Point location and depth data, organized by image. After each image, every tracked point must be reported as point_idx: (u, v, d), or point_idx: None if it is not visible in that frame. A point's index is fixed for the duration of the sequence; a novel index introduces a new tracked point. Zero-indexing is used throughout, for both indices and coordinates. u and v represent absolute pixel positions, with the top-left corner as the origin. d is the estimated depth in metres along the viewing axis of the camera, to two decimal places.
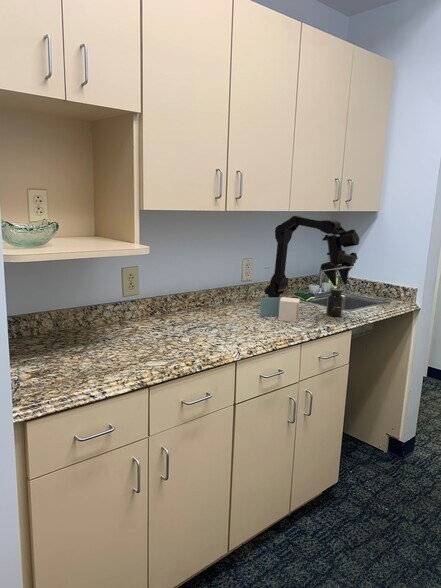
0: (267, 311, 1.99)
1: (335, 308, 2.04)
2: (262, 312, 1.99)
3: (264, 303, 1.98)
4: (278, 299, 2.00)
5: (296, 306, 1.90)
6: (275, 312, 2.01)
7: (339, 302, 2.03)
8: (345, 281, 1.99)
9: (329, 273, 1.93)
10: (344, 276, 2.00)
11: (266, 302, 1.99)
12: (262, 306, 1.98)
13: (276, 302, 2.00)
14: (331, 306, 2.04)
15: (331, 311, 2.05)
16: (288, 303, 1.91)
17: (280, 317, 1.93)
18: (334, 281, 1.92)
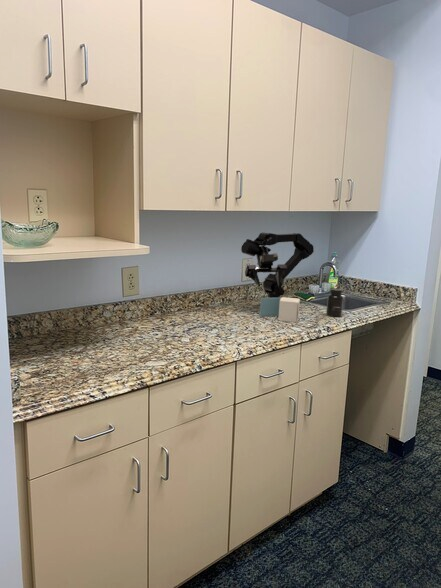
0: (267, 311, 1.99)
1: (335, 308, 2.04)
2: (262, 312, 1.99)
3: (264, 303, 1.98)
4: (278, 299, 2.00)
5: (296, 306, 1.90)
6: (275, 312, 2.01)
7: (339, 302, 2.03)
8: (278, 283, 2.04)
9: (253, 277, 2.06)
10: (277, 278, 2.06)
11: (266, 302, 1.99)
12: (262, 306, 1.98)
13: (276, 302, 2.00)
14: (331, 306, 2.04)
15: (331, 311, 2.05)
16: (288, 303, 1.91)
17: (280, 317, 1.93)
18: (257, 281, 2.03)
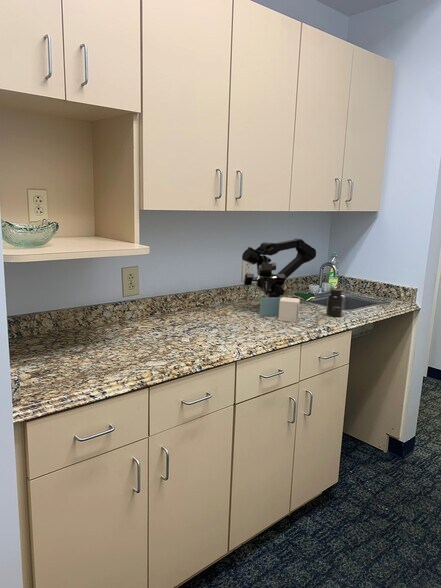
0: (267, 311, 1.99)
1: (335, 308, 2.04)
2: (262, 312, 1.99)
3: (264, 303, 1.98)
4: (278, 299, 2.00)
5: (296, 306, 1.90)
6: (275, 312, 2.01)
7: (339, 302, 2.03)
8: None
9: (261, 285, 2.08)
10: (266, 288, 2.06)
11: (266, 302, 1.99)
12: (262, 306, 1.98)
13: (276, 302, 2.00)
14: (331, 306, 2.04)
15: (331, 311, 2.05)
16: (288, 303, 1.91)
17: (280, 317, 1.93)
18: (264, 290, 2.04)
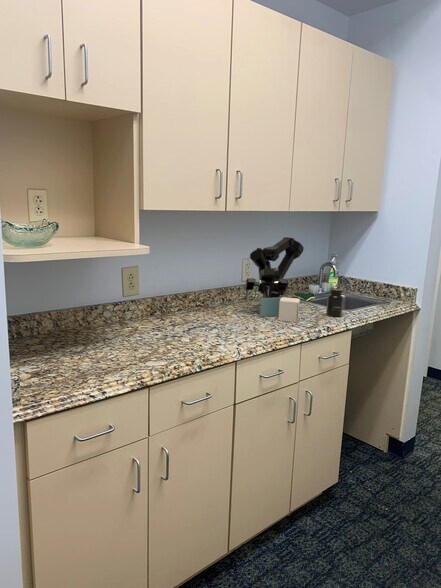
0: (267, 311, 1.99)
1: (335, 308, 2.04)
2: (262, 313, 1.98)
3: (265, 303, 1.98)
4: (278, 299, 2.00)
5: (296, 306, 1.90)
6: (275, 312, 2.01)
7: (339, 302, 2.03)
8: (268, 297, 2.00)
9: (263, 290, 2.03)
10: (268, 293, 2.01)
11: (266, 302, 1.98)
12: (262, 306, 1.98)
13: (276, 302, 2.00)
14: (331, 306, 2.04)
15: (331, 311, 2.05)
16: (288, 303, 1.91)
17: (280, 317, 1.93)
18: (266, 295, 2.00)
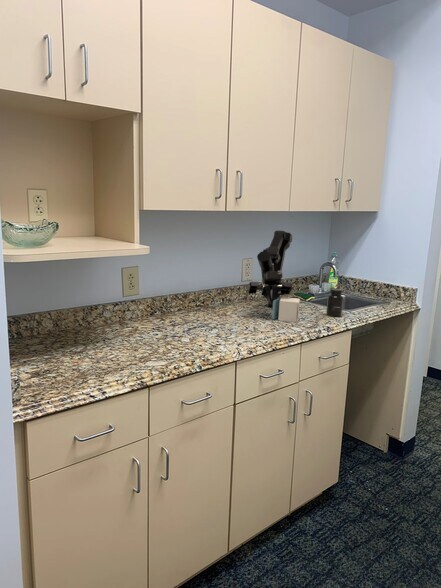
0: (276, 313, 1.96)
1: (335, 308, 2.04)
2: (274, 315, 1.94)
3: (275, 305, 1.94)
4: None
5: (296, 306, 1.90)
6: (278, 313, 2.00)
7: (339, 302, 2.03)
8: None
9: (266, 294, 1.97)
10: (271, 297, 1.95)
11: (276, 304, 1.95)
12: (274, 309, 1.93)
13: (279, 302, 1.99)
14: (331, 306, 2.04)
15: (331, 311, 2.05)
16: (288, 303, 1.91)
17: (280, 317, 1.93)
18: (270, 299, 1.94)
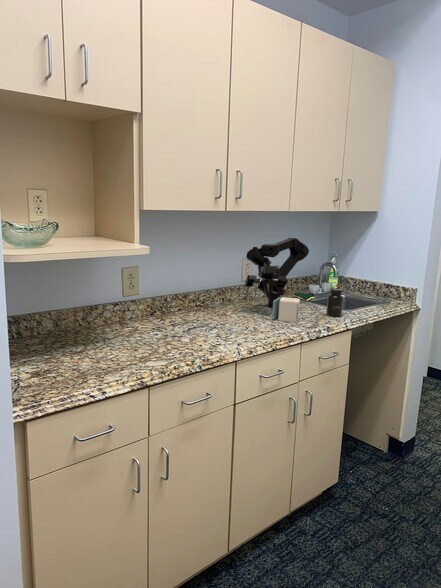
0: (276, 313, 1.96)
1: (335, 308, 2.04)
2: (274, 315, 1.94)
3: (275, 305, 1.94)
4: None
5: (296, 306, 1.90)
6: (278, 313, 2.00)
7: (339, 302, 2.03)
8: None
9: (263, 287, 2.05)
10: (268, 290, 2.04)
11: (276, 304, 1.95)
12: (274, 309, 1.93)
13: (279, 302, 1.99)
14: (331, 306, 2.04)
15: (331, 311, 2.05)
16: (288, 303, 1.91)
17: (280, 317, 1.93)
18: (266, 292, 2.02)
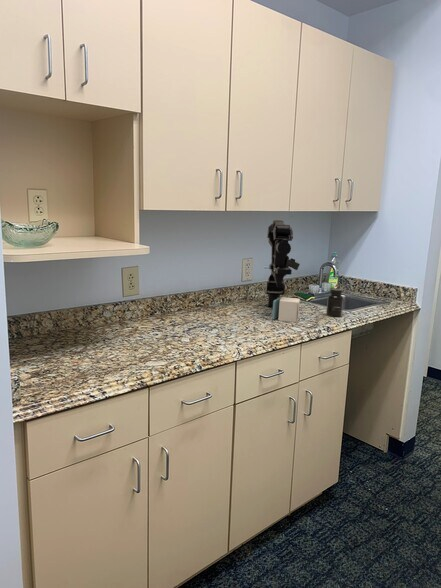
0: (276, 313, 1.96)
1: (335, 308, 2.04)
2: (274, 315, 1.94)
3: (275, 305, 1.94)
4: None
5: (296, 306, 1.90)
6: (278, 313, 2.00)
7: (339, 302, 2.03)
8: None
9: (278, 275, 2.02)
10: None
11: (276, 304, 1.95)
12: (274, 309, 1.93)
13: (279, 302, 1.99)
14: (331, 306, 2.04)
15: (331, 311, 2.05)
16: (288, 303, 1.91)
17: (280, 317, 1.93)
18: (280, 283, 2.03)
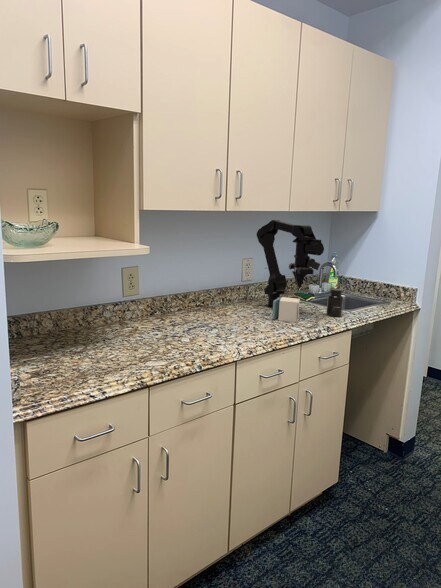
0: (276, 313, 1.96)
1: (335, 308, 2.04)
2: (274, 315, 1.94)
3: (275, 305, 1.94)
4: None
5: (296, 306, 1.90)
6: (278, 313, 2.00)
7: (339, 302, 2.03)
8: None
9: (299, 275, 2.05)
10: None
11: (276, 304, 1.95)
12: (274, 309, 1.93)
13: (279, 302, 1.99)
14: (331, 306, 2.04)
15: (331, 311, 2.05)
16: (288, 303, 1.91)
17: (280, 317, 1.93)
18: (301, 283, 2.06)
